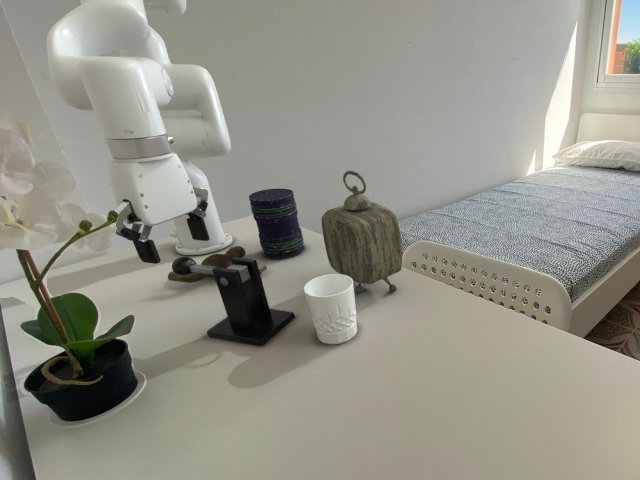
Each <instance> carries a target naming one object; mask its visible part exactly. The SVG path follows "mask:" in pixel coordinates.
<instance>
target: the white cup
mask: <svg viewBox="0 0 640 480" xmlns="http://www.w3.org/2000/svg"><path fill="white" fill-rule="evenodd" d="M303 293H304V296H305V299H306V304H307V307H308V310H309V314H310V317H311V320H312V323H313V326H314V328H315V332H316V336H317V339H318V340H319V341H320V342H321V343H323V344H327V345H339V344H344V343H345V342H348V341H350V340H351V339H352V338H354V337H355V336H356V334H357V332H358V326H357V306H356V296H355V287H354V281H353V280H352V278H351V277H349V276H347V275H343V274H339V273H331V274H329V273H328V274H324V275H323V274H322V275H320V276H317V277H314V278H312V279H310V280H308V281H307V282H306V283H305V285H304V286H303Z"/></svg>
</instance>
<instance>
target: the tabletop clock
mask: <svg viewBox="0 0 640 480" xmlns="http://www.w3.org/2000/svg"><path fill="white" fill-rule="evenodd" d="M348 175H351V176H355V177H356V178H358V179H359V180H360V182H361V184H362V186H363V189H362V190H359V187H358V186H357V185H352V187H351V186H350V185H349V184H348V183H347V179H346V178H347V176H348ZM342 182H343V184H344V186H345V188H346V189H347V190H348V191H349V192H351V193H352V194H350V195H348V196H347V197H346V198H345V200H344V201H343V205H340V206H337V207H333V208H330V209H327V210H326V211H325V213H324V214H323V215H322V216H321V229H322V236H323V242H324V246H325V247H324V248H325V252H326V256H327V259H328V263H329V265H330V267H331V268H332V269H333V271H334V272H336V274H343V275H347V276H349V277H351V278H352V280H353V283H357V285H356V286H355V287H354V290H355V292H357V293H362V292H363V291H364V286H363V285H362V284H364V285H373V284H375V283H377V282H379V281H381V280H383V281H384V282H385V283H386V284H387V285H388V286H389V287H388V289H389V291H390V292H396V291H397V290H398V286H397V285H396V284H395V283H391V281H390V280H389V278H388V277H390V276H392V275H395V274H397V273H400V272H401V271H402V268H403V244H402V243H403V242H402V237H401V231H400V230H401V229H400V226H399V222H398V218H397V216H396V213H394V212H393V211H392V210H391V209H389V208H387V207H385V206H383V205H381V204H378V203H376V202H373V201H370V199H369V198H368V197H367V196H366V195H364V194H365V193H366V191H367V184H366V181H365V179H364V177H363V176H362V175H361V174H359V172H356V171H353V170H347V171H345V172H344V174H343V175H342Z"/></svg>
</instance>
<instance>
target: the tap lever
mask: <svg viewBox="0 0 640 480" xmlns="http://www.w3.org/2000/svg"><path fill="white" fill-rule="evenodd" d="M214 268H216V267H213V266H206V265H201V264H197V262H196V260H194V259H193V258H192V257H190V256H187V255H183V256H182V255H181V256H178V257H177V258H175V259H174V260H173V261H172V263H171V271H173V272H174V273H175V274H176V275H178V276H181V277H187V276H190V275H192V274H194V273H195V272H199V273H206V274H213V271H212V269H214ZM227 268H228V269H236V270H239V272H240V275H241V279H242V282H245V281H246V280H248V279H250V274H249V271H248V267H247V266H245V265H237V264H233V265H231V266H229V267H227ZM213 275H214V274H213Z"/></svg>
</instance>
